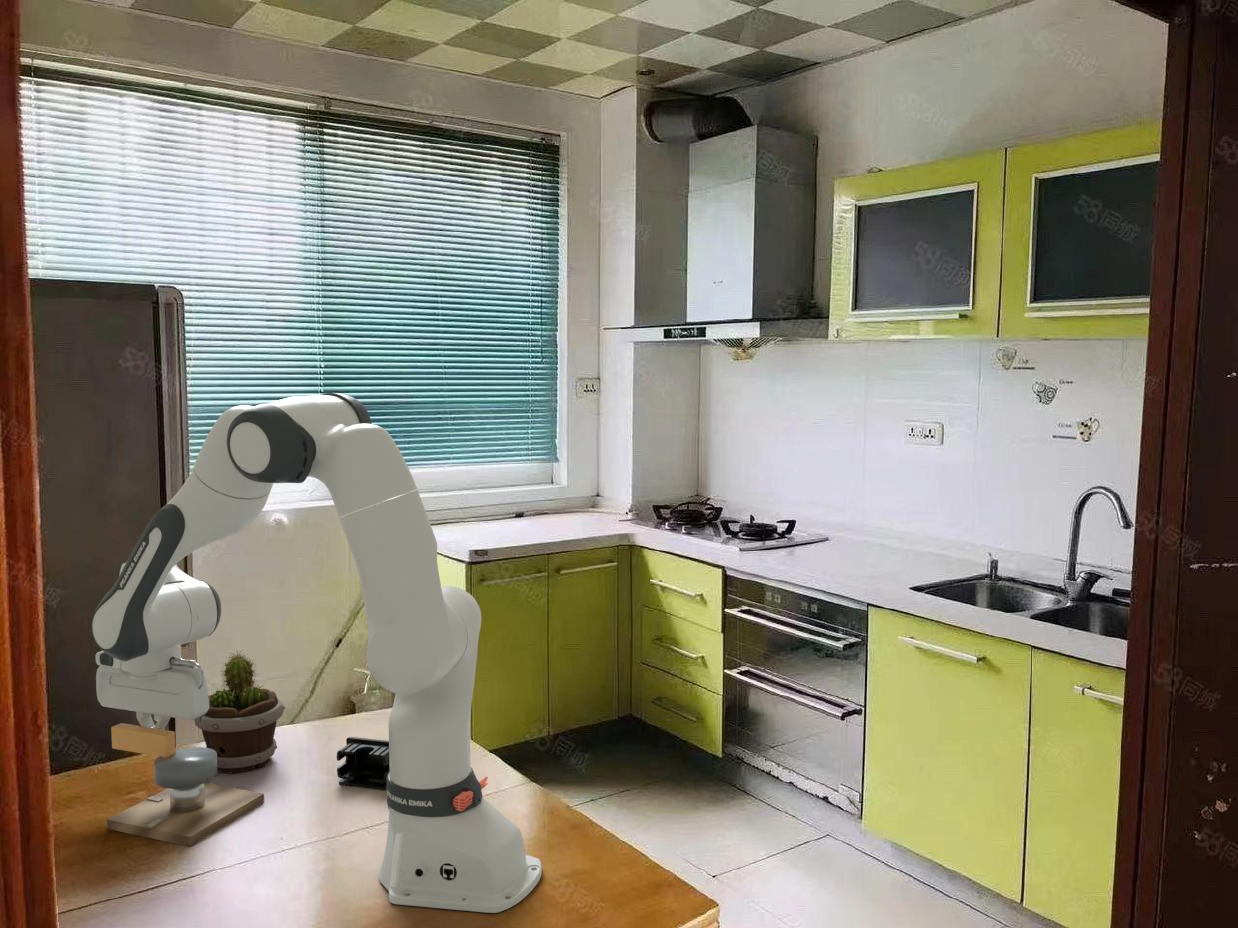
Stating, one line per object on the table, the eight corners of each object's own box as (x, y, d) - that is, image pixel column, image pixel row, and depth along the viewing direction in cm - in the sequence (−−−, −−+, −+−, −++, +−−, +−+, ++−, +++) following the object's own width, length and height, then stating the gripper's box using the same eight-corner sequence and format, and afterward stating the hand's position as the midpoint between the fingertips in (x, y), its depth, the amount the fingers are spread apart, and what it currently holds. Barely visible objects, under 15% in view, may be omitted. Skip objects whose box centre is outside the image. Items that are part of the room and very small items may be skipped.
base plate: (264, 802, 161) (263, 792, 161) (190, 846, 147) (189, 835, 146) (186, 787, 167) (185, 778, 167) (107, 828, 152) (106, 818, 152)
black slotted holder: (408, 774, 173) (407, 736, 172) (388, 791, 166) (388, 751, 166) (356, 768, 175) (355, 731, 175) (335, 784, 169) (334, 746, 168)
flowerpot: (282, 774, 173) (278, 661, 171) (187, 782, 169) (182, 667, 167) (289, 744, 187) (286, 639, 185) (202, 751, 183) (198, 644, 181)
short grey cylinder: (212, 801, 158) (210, 774, 158) (188, 815, 153) (187, 786, 153) (187, 797, 160) (186, 770, 159) (162, 810, 155) (161, 782, 155)
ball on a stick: (230, 769, 159) (228, 730, 158) (187, 791, 150) (186, 750, 150) (140, 754, 165) (138, 715, 165) (94, 774, 157) (92, 734, 156)
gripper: (216, 655, 159) (219, 739, 161) (119, 643, 166) (122, 724, 168) (187, 666, 153) (190, 753, 155) (87, 653, 161) (91, 736, 162)
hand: (154, 738), depth 161 cm, fingers closed
